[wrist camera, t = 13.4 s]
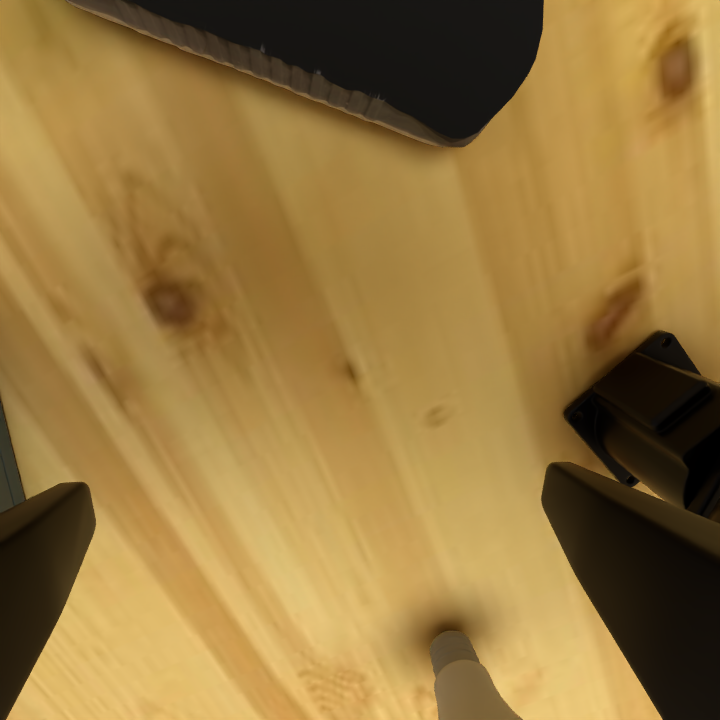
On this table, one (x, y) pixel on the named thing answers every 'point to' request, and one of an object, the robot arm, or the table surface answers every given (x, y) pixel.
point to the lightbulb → (464, 682)
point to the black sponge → (362, 53)
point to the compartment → (8, 470)
